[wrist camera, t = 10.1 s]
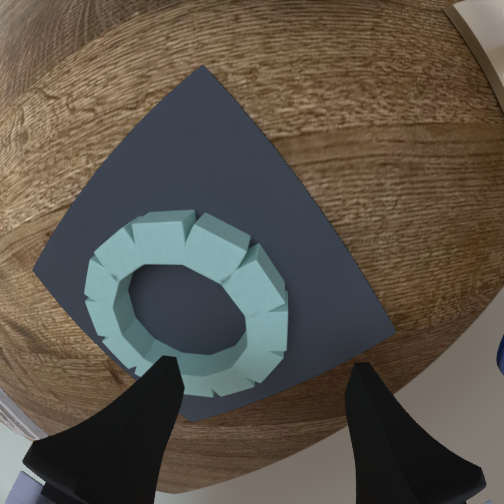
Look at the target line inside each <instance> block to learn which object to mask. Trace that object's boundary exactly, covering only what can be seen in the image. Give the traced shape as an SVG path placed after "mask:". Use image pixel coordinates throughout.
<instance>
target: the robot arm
mask: <svg viewBox="0 0 504 504" xmlns="http://www.w3.org/2000/svg"><path fill="white" fill-rule="evenodd" d="M184 390H185V386H184V383H183V379H182V376H181V372H180V369H179V365H178V361H177V358H176V357H173V356H166V355H163V356H161V357H160V358H159V359H158V360H157V361H156V362H155V363H154V364H153V365H152V366H151V367H150V368H149V369H148V370H147V371H146V372H145V373H144V374H143V375H142V376H141V377H140V378H139V379H138V380H137V381H136V382H135V383H134V384H133V385H132V386H131V387H130V388H129V389H127V390H126V391H125V392H124V393H123V394H122V395H120V396H119V397H118V398H117V399H116V400H114V401H113V402H112V403H111V404H109V405H108V406H107V407H105V408H104V409H102V410H101V411H100V412H98V413H97V414H95V415H93V416H92V417H90V418H89V419H87V420H85V421H83V422H81V423H80V424H78V425H76V426H74V427H72V428H70V429H67V430H65V431H63V432H60V433H58V434H55V435H52V436H49V437H46V438H43V439H40V440H36V441H34V442H33V443H32V445H31V447H30V448H29V450H28V452H27V453H26V455H25V457H24V459H23V464H24V465H25V466H26V467H27V468H29V469H30V470H31V471H32V472H34V473H35V474H36V475H37V476H39V477H40V478H41V479H43V480H44V481H45V482H46V483H45V485H44V486H43V485H42V484H41V483H39V482H38V481H36V480H35V479H33V478H32V477H30V476H29V475H28V474H26V473H25V472H24V471H21V472H20V474H19V475H18V478H17V479H16V481H15V483H14V485H13V487H12V489H11V491H10V493H9V495H8V497H7V499H6V501H5V504H154V498H155V492H156V486H157V480H158V475H159V471H160V466H161V462H162V458H163V454H164V451H165V448H166V445H167V442H168V440H169V437H170V435H171V432H172V429H173V427H174V424H175V421H176V419H177V416H178V413H179V411H180V408H181V403H182V399H183V395H184ZM345 406H346V416H347V421H348V427H349V432H350V436H351V442H352V447H353V453H354V458H355V466H356V504H466V500H468V499H470V498H471V497H473V496H474V495H476V494H477V493H479V492H480V491H481V490H483V489H484V488H485V487H486V481H485V477H484V474H483V472H482V469H481V467H479V466H477V465H475V464H473V463H471V462H469V461H466V460H465V459H463V458H461V457H459V456H458V455H456V454H455V453H453V452H451V451H450V450H448V449H447V448H446V447H444V446H443V445H442V444H440V443H439V442H438V441H436V440H435V439H434V438H432V437H431V436H430V435H429V434H428V433H427V432H426V431H425V430H424V429H423V428H422V427H421V426H419V425H418V424H417V423H416V421H414V419H413V418H412V417H411V416H410V415H409V414H408V413H407V412H406V411H405V409H404V408H403V407H402V406H401V405H400V403H399V402H398V401H397V400H396V398H395V397H394V396H393V395H392V393H391V392H390V391H389V389H388V388H387V387H386V385H385V384H384V383H383V381H382V380H381V379H380V377H379V376H378V374H377V373H376V371H375V370H374V369H373V367H372V366H371V364H370V363H369V362H363V363H354V366H353V369H352V373H351V376H350V379H349V382H348V385H347V389H346V392H345ZM484 504H493V503H492V500H489V501H488V502H486V503H484Z"/></svg>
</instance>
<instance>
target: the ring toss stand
mask: <svg viewBox="0 0 504 504" xmlns="http://www.w3.org/2000/svg"><path fill="white" fill-rule="evenodd" d="M443 11H444V12H445V14H446V15H447V16H448V17H449V19H450V20H451V21H452V23H453V24H454V26H455V27H456V28H457V30H458V31H459V33H460V34H461V36H462V37H463V39H464V40H465V42H466V43H467V45H468V46H469V48H470V49H471V51H472V53H473V54H474V56H475V58H476V59H477V61H478V63H479V64H480V66H481V68H482V70H483V72H484V73H485V75H486V77H487V79H488V81H489V83H490V85H491V87H492V89H493V91H494V93H495V95H496V97H497V99H498V102H499V104H500V106H501V108H502V111H503V113H504V0H464V1H461V2H458V3H455V4H452V5H450V6H449V7H447V8H446V9H444V10H443Z"/></svg>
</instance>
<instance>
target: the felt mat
mask: <svg viewBox="0 0 504 504" xmlns="http://www.w3.org/2000/svg"><path fill="white" fill-rule="evenodd" d="M177 210H195V215H196V222H197V220H198V219H199V218H200V217H201V216H202V215H203V214H204V213H208V214H210V215H212V216H214V217H216V218H217V219H219V220H221V221H223V222H225V223H227V224H229V225H231V226H233V227H235V228H237V229H239V230H241V231H243V232H244V233H246V234H248V235H250V236H251V239H250V243H249V246H248V249H249V248H251V247H252V246H254V245H256V244H258V243H260V245H261V246H262V248H263V249H264V251H265V252H266V254H267V255H268V257H269V258H270V260H271V261H272V263H273V265H274V266H275V268H276V269H277V271H278V272H279V274H280V275H281V277H282V278H283V280H284V281H285V290H286V291H287V293H288V334H287V350H286V351H284V358H283V359H282V360H281V362H280V363H279V364H278V365H277V366H276V367H275V368H274V369H273V370H272V372H271V373H270V374H269V375H268V376H267V377H266V378H265V379H264V380H263V381H262V382H261V383H258V382H256V381H255V386H254V387H252V388H249V389H246V390H243V391H239V392H236V393H232V394H229V395H225V396H222V397H221V396H219V395H218V394H217V393H216V392H215V393H214V397H204V396H195V395H187V394H184V395H183V399H182V403H181V408H180V411H179V414H180V415H182V416H183V417H185V418H186V419H188V420H189V421H191V422H194V421H197V420H201V419H204V418H208V417H211V416H214V415H218V414H221V413H224V412H227V411H230V410H233V409H236V408H239V407H242V406H245V405H247V404H250V403H253V402H256V401H258V400H261V399H264V398H266V397H269V396H271V395H274V394H276V393H279V392H281V391H284V390H286V389H288V388H291V387H293V386H295V385H298V384H300V383H302V382H304V381H307V380H309V379H311V378H313V377H315V376H317V375H320V374H322V373H324V372H326V371H328V370H330V369H332V368H334V367H336V366H338V365H340V364H342V363H344V362H346V361H348V360H349V359H351V358H353V357H355V356H357V355H359V354H361V353H362V352H364V351H366V350H368V349H370V348H371V347H373V346H375V345H377V344H378V343H380V342H382V341H383V340H385V339H387V338H388V337H390V336H392V335H393V334H395V333H396V330H395V328H394V326H393V325H392V323H391V321H390V319H389V317H388V316H387V314H386V312H385V310H384V309H383V307H382V305H381V303H380V302H379V300H378V298H377V297H376V295H375V293H374V291H373V290H372V288H371V286H370V285H369V283H368V281H367V280H366V278H365V277H364V275H363V273H362V272H361V270H360V268H359V267H358V265H357V264H356V262H355V260H354V259H353V257H352V256H351V254H350V253H349V251H348V249H347V248H346V246H345V245H344V243H343V242H342V240H341V239H340V237H339V236H338V234H337V233H336V231H335V230H334V228H333V227H332V225H331V224H330V222H329V221H328V219H327V218H326V217H325V215H324V214H323V212H322V211H321V209H320V208H319V206H318V205H317V204H316V202H315V201H314V199H313V198H312V197H311V195H310V194H309V192H308V191H307V190H306V188H305V187H304V186H303V184H302V183H301V181H300V180H299V179H298V177H297V176H296V175H295V173H294V172H293V171H292V169H291V168H290V167H289V165H288V164H287V163H286V162H285V160H284V159H283V158H282V156H281V155H280V154H279V153H278V151H277V150H276V149H275V147H274V146H273V145H272V144H271V142H270V141H269V140H268V139H267V137H266V136H265V135H264V134H263V132H262V131H261V130H260V129H259V128H258V126H257V125H256V124H255V123H254V122H253V120H252V119H251V118H250V117H249V116H248V114H247V113H246V112H245V111H244V110H243V109H242V107H241V106H240V105H239V104H238V103H237V102H236V100H235V99H234V98H233V97H232V96H231V95H230V94H229V92H228V91H227V90H226V89H225V88H224V87H223V86H222V85H221V84H220V82H219V81H218V80H217V79H216V78H215V77H214V76H213V75H212V74H211V73H210V72H209V71H208V70H207V68H206V67H205V66H203V65H202V66H200V67H199V68H198V69H197V70H195V71H194V72H193V73H192V74H191V75H189V76H188V77H187V78H186V79H185V80H183V81H182V82H181V83H180V84H179V85H178V86H177V87H175V88H174V89H173V90H172V91H171V92H170V93H169V94H168V95H167V96H166V97H165V98H163V99H162V100H161V101H160V102H159V103H158V104H157V105H156V106H155V107H154V108H153V109H152V110H151V111H150V112H149V113H148V114H147V115H146V116H145V117H144V118H143V119H142V120H141V121H140V122H139V123H138V124H137V125H136V126H135V127H134V128H133V129H132V131H131V132H130V133H129V134H128V135H127V136H126V137H125V138H124V139H123V140H122V141H121V143H120V144H119V145H118V146H117V147H116V148H115V149H114V151H113V152H112V153H111V154H110V155H109V157H108V158H107V159H106V160H105V161H104V163H103V164H102V165H101V166H100V168H99V169H98V170H97V171H96V173H95V174H94V175H93V176H92V178H91V179H90V180H89V182H88V183H87V184H86V186H85V187H84V188H83V190H82V191H81V192H80V194H79V195H78V197H77V198H76V199H75V201H74V202H73V204H72V205H71V207H70V208H69V209H68V211H67V212H66V214H65V215H64V217H63V219H62V220H61V222H60V223H59V225H58V226H57V228H56V229H55V231H54V233H53V234H52V236H51V238H50V239H49V241H48V243H47V244H46V246H45V248H44V250H43V251H42V253H41V255H40V257H39V258H38V260H37V262H36V264H35V266H34V268H33V271H34V273H35V274H36V275H37V277H38V278H39V279H40V281H41V282H42V283H43V284H44V286H45V287H46V288H47V290H48V291H49V292H50V293H51V295H52V296H53V297H54V298H55V299H56V301H57V302H58V303H59V304H60V305H61V307H62V308H63V309H64V310H65V311H66V312H67V313H68V315H69V316H70V317H71V318H72V319H73V320H74V321H75V322H76V323H77V324H78V326H79V327H80V328H81V329H82V330H83V331H84V332H85V333H86V334H87V335H88V336H89V337H90V338H91V339H92V340H93V341H94V342H95V343H96V344H97V345H98V346H99V347H100V348H101V349H102V350H103V351H104V352H105V353H106V354H107V355H108V356H109V357H110V358H111V359H112V360H114V361H115V362H116V363H117V364H118V365H119V366H120V367H121V368H122V369H124V370H125V371H126V372H127V373H128V374H129V375H130V376H132V377H133V378H134V379H135V380H136V381H137V380H138V379H139V378H140V376H138V375H136V374H135V370H136V367H137V366H135V367H132V368H130V369H128V368H127V367H126V366H125V365H124V364H123V363H122V362H121V361H120V360H119V359H118V358H117V357H116V356H115V355H114V354H113V353H112V352H111V351H110V350H109V349H108V348H107V346H106V345H105V344H104V343H103V342H102V341H103V340H104V338H105V336H99V335H98V334H97V332H96V330H95V327H94V325H93V322H92V319H91V317H90V314H89V311H88V309H87V306H86V303H85V301H86V300H87V299H88V298H89V297H88V296H87V295H85V294H84V291H85V284H86V278H87V272H88V267H89V261H90V259H91V258H92V257H93V256H95V254H94V252H95V250H97V249H98V248H99V247H100V246H101V245H102V244H103V243H104V242H106V241H107V240H108V239H109V238H110V237H111V236H113V235H114V234H115V233H116V232H117V231H118V230H120V229H121V228H122V227H123V226H125V225H126V224H128V223H129V222H131V221H132V220H134V219H136V218H137V217H139V216H142V217H143V216H144V215H146V214H147V213H149V212H159V211H177ZM128 292H129V296H130V299H131V303H132V306H133V310H134V313H135V316H136V318H137V319H138V320H139V321H140V323H141V324H142V325H143V326H144V327H145V328H146V329H147V331H148V332H149V333H150V334H151V335H152V336H153V337H154V338H155V339H156V340H158V341H160V342H162V343H164V344H166V345H168V346H170V347H172V348H174V349H176V350H178V351H180V352H182V353H192V354H204V355H212V354H215V353H218V352H220V351H223V350H225V349H228V348H230V347H233V346H235V345H236V344H237V343H238V341H239V340H240V339H241V337H242V336H243V334H244V333H245V331H246V321H245V315H244V314H243V313H242V311H241V310H240V309H239V308H238V306H237V305H236V304H235V302H234V301H233V300H232V298H231V297H230V296H229V294H228V293H227V292H226V290H225V289H224V288H223V286H222V285H221V284H219V283H217V282H215V281H213V280H211V279H209V278H207V277H205V276H203V275H202V274H200V273H198V272H196V271H194V270H192V269H190V268H188V267H186V266H184V265H166V264H144V265H143V266H141V267H140V268H138V269H137V270H135V271H134V272H133V275H132V278H131V282H130V285H129V288H128Z"/></svg>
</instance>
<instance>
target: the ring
mask: <svg viewBox="0 0 504 504" xmlns="http://www.w3.org/2000/svg"><path fill="white" fill-rule="evenodd" d="M250 239H251V236H250V235H248V234H246V233H244V232H243V231H241V230H239V229H237V228H235V227H233V226H231V225H229V224H227V223H225V222H223V221H221V220H219V219H217V218H216V217H214V216H212V215H210V214H208V213H204V214H203V215H202V216H201V217H200V218H199V219H198V220H197V222H196V215H195V210H177V211H159V212H149V213H147V214H146V215H144V216H143V217H142V216H139V217H137V218H136V219H134V220H132V221H131V222H129V223H128V224H126V225H125V226H123V227H122V228H121V229H120V230H118V231H117V232H116V233H115V234H114V235H113V236H111V237H110V238H109V239H108V240H107V241H106V242H104V243H103V244H102V245H101V246H100V247H99V248H98V249H97V250H95V252H94V254H95V256H93V257H92V258H91V259H90V261H89V267H88V272H87V278H86V284H85V291H84V294H85V295H87V296H88V297H89V298H88V299H87V300H86V301H85V303H86V306H87V309H88V311H89V314H90V317H91V319H92V322H93V325H94V327H95V330H96V332H97V334H98V335H99V336H105V338H104V340H103V341H102V342H103V343H104V344H105V345H106V346H107V348H108V349H109V350H110V351H111V352H112V353H113V354H114V355H115V356H116V357H117V358H118V359H119V360H120V361H121V362H122V363H123V364H124V365H125V366H126V367H127V368H128V369H130V368H132V367H135V366H137V367H136V370H135V374H136V375H138V376H140V377H141V376H142V375H143V374H144V373H145V372H146V371H147V370H148V369H149V368H150V367H151V366H152V365H153V364H154V363H155V362H156V361H157V360H158V359H159V358H160V357H161V356H163V355H166V356H173V357H176V358H177V361H178V365H179V369H180V372H181V376H182V379H183V383H184V386H185V390H184V394H187V395H195V396H204V397H214V393H215V392H216V393H217V394H218V395H219V396H221V397H222V396H225V395H229V394H232V393H236V392H239V391H243V390H246V389H249V388H252V387H254V386H255V381H256V382H258V383H261V382H262V381H263V380H264V379H265V378H266V377H267V376H268V375H269V374H270V373H271V372H272V370H273V369H274V368H275V367H276V366H277V365H278V364H279V363H280V362H281V360H282V359H283V358H284V351H286V350H287V334H288V293H287V291H286V290H285V281H284V280H283V278H282V277H281V275H280V274H279V272H278V271H277V269H276V268H275V266H274V265H273V263H272V261H271V260H270V258H269V257H268V255H267V254H266V252H265V251H264V249H263V248H262V246H261V245H260V243H258V244H256V245H254V246H252V247H251V248H249V249H248V246H249V243H250ZM144 264H166V265H184V266H186V267H188V268H190V269H192V270H194V271H196V272H198V273H200V274H202V275H203V276H205V277H207V278H209V279H211V280H213V281H215V282H217V283H219V284H221V285H222V286H223V288H224V289H225V290H226V292H227V293H228V294H229V296H230V297H231V298H232V300H233V301H234V302H235V304H236V305H237V306H238V308H239V309H240V310H241V311H242V313H243V314H244V315H245V321H246V331H245V333H244V334H243V336H242V337H241V339H240V340H239V341H238V343H237V344H236V345H235V346H233V347H230V348H228V349H225V350H223V351H220V352H218V353H215V354H212V355H204V354H192V353H182V352H180V351H178V350H176V349H174V348H172V347H170V346H168V345H166V344H164V343H162V342H160V341H158V340H156V339H155V338H154V337H153V336H152V335H151V334H150V333H149V332H148V331H147V329H146V328H145V327H144V326H143V325H142V324H141V323H140V321H139V320H138V319H137V318H136V316H135V313H134V310H133V306H132V303H131V299H130V296H129V292H128V288H129V285H130V282H131V278H132V275H133V272H134V271H135V270H137V269H138V268H140V267H141V266H143V265H144Z"/></svg>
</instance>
